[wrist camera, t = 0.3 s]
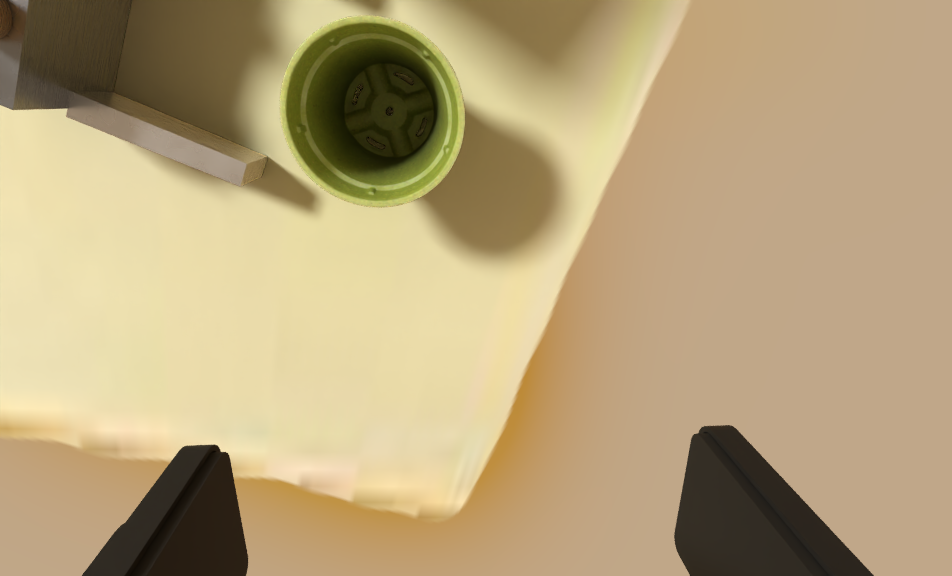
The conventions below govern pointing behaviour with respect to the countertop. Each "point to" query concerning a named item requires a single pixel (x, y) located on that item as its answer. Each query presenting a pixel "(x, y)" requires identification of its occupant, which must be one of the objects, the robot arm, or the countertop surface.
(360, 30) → the plant pot
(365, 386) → the countertop surface
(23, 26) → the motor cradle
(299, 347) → the countertop surface
